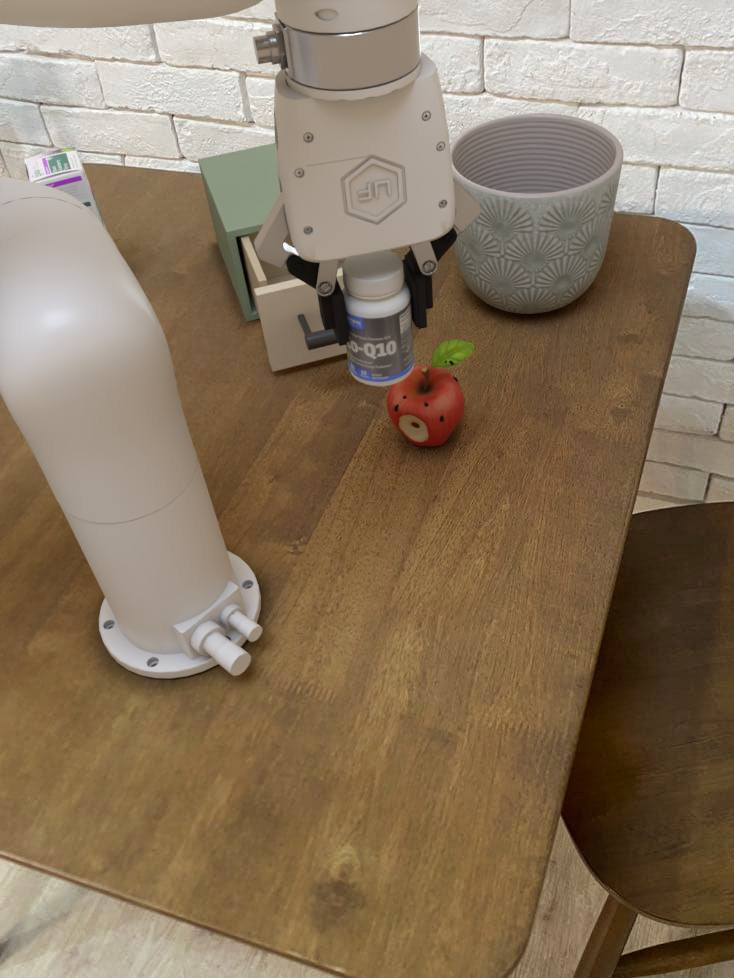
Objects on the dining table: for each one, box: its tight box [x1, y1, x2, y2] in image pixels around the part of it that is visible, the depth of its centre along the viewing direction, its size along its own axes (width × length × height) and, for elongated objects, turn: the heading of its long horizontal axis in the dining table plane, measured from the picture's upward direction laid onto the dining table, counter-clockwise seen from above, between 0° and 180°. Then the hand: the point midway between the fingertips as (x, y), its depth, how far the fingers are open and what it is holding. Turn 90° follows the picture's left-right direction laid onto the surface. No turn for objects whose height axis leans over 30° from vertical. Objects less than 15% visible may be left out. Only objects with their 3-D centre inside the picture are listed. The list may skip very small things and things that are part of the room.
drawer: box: [237, 232, 347, 372], centre depth 94 cm, size 20×13×9 cm, turn 18°
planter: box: [450, 112, 625, 315], centre depth 95 cm, size 17×17×15 cm
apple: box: [386, 338, 475, 447], centre depth 83 cm, size 8×7×10 cm
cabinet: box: [197, 142, 280, 323], centre depth 103 cm, size 17×15×11 cm
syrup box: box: [23, 147, 107, 230], centre depth 102 cm, size 6×6×14 cm
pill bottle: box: [342, 250, 415, 387], centre depth 64 cm, size 5×5×8 cm
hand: (378, 323), depth 64 cm, fingers closed on pill bottle, 4 cm apart
